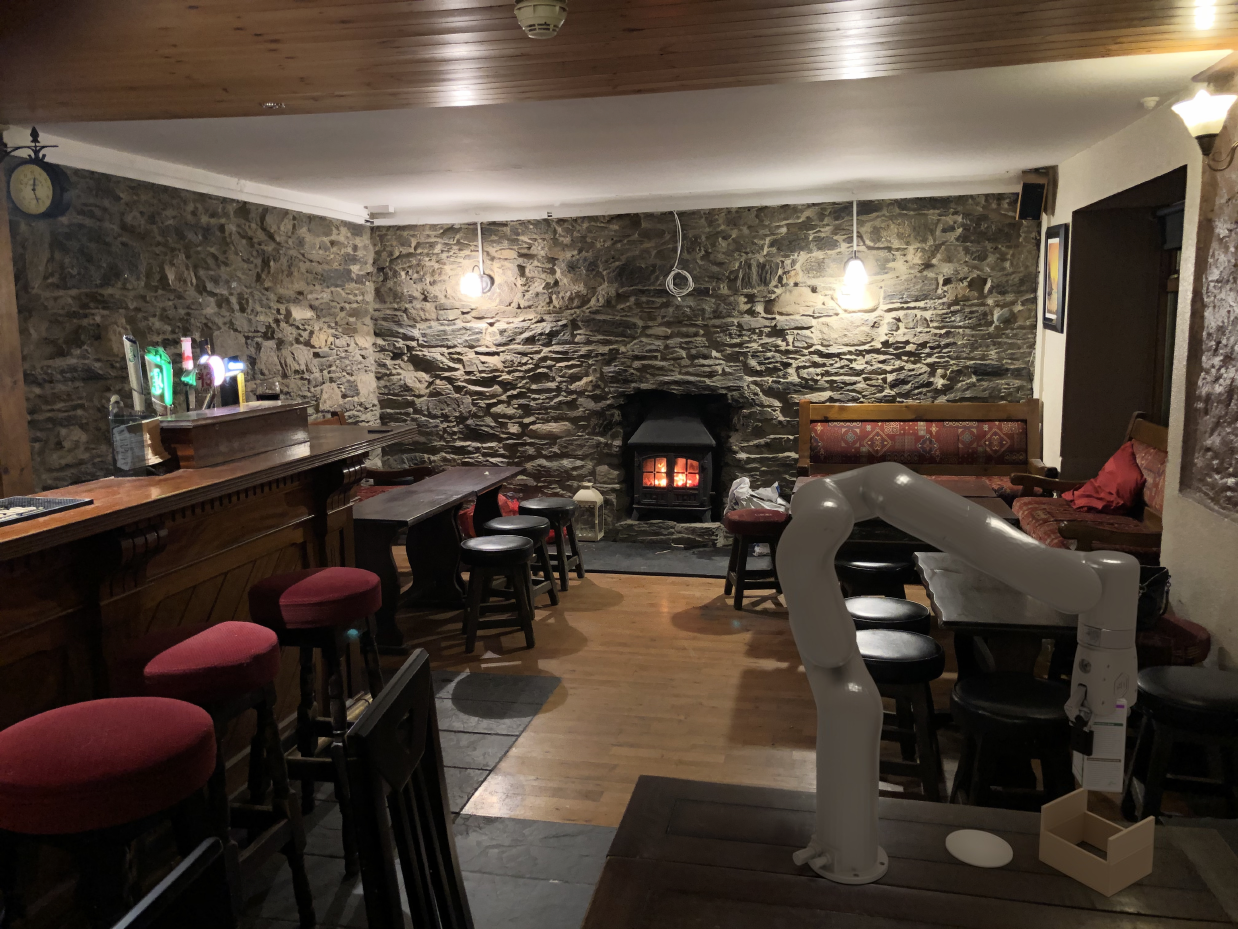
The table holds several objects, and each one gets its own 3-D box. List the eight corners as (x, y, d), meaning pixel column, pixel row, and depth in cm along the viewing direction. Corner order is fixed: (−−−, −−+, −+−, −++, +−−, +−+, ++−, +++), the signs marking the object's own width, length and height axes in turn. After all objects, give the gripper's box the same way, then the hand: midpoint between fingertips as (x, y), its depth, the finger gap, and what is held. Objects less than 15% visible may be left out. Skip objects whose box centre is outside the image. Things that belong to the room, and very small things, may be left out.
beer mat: (984, 875, 136) (985, 872, 136) (932, 844, 144) (932, 841, 144) (1026, 854, 141) (1026, 852, 141) (973, 825, 149) (973, 823, 149)
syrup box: (1123, 793, 132) (1130, 700, 130) (1080, 790, 133) (1086, 698, 131) (1110, 775, 137) (1117, 685, 135) (1069, 771, 138) (1075, 683, 136)
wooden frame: (1108, 897, 130) (1111, 840, 128) (1038, 859, 139) (1041, 806, 138) (1151, 872, 135) (1155, 817, 134) (1082, 837, 145) (1084, 786, 143)
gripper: (1095, 653, 124) (1087, 770, 127) (1164, 631, 133) (1156, 741, 135) (1046, 638, 131) (1039, 750, 133) (1115, 617, 139) (1108, 723, 142)
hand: (1098, 745), depth 134 cm, fingers closed on syrup box, 8 cm apart
